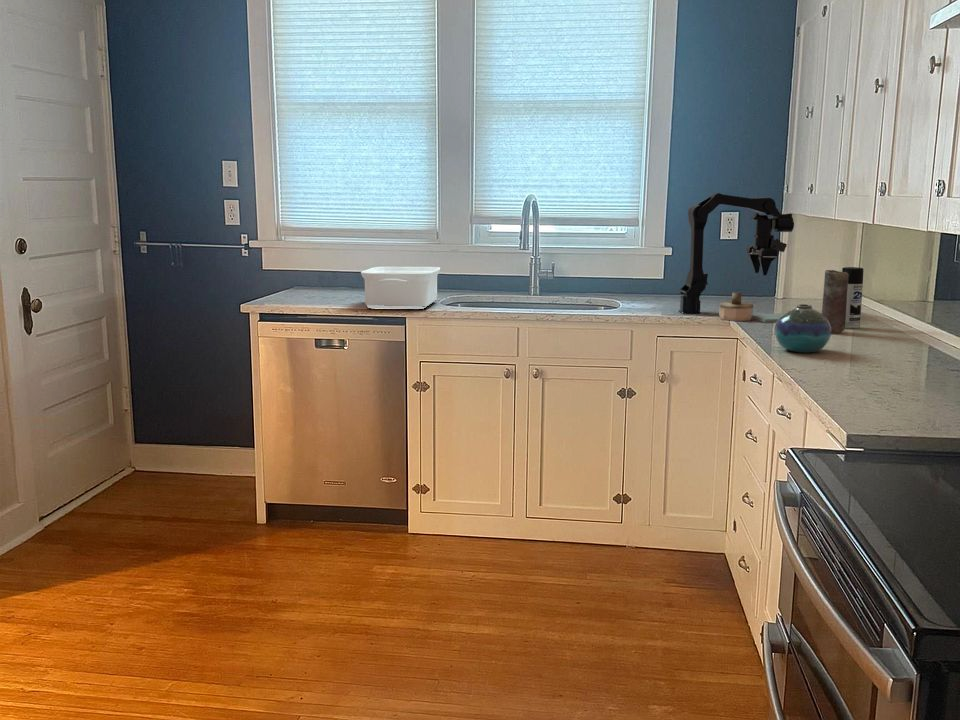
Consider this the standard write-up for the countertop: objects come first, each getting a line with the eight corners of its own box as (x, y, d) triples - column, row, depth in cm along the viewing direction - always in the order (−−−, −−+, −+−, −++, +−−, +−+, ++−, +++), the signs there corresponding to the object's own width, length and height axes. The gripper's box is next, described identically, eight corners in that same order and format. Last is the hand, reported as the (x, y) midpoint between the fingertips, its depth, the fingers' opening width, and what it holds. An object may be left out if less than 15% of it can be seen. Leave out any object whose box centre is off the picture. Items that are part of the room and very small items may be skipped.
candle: (826, 329, 293) (831, 269, 289) (848, 332, 287) (853, 270, 284) (816, 332, 287) (820, 270, 283) (838, 335, 282) (843, 272, 278)
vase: (841, 354, 251) (845, 307, 249) (794, 357, 247) (798, 309, 244) (807, 344, 266) (810, 300, 263) (762, 347, 261) (765, 303, 259)
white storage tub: (378, 300, 375) (377, 265, 372) (444, 301, 371) (444, 266, 368) (356, 311, 342) (354, 273, 339) (428, 312, 338) (428, 274, 335)
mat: (764, 322, 309) (764, 319, 309) (748, 316, 322) (749, 314, 321) (799, 321, 310) (800, 318, 310) (783, 316, 323) (783, 313, 323)
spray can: (850, 329, 292) (854, 269, 288) (833, 327, 298) (837, 267, 294) (864, 328, 295) (868, 268, 291) (847, 325, 301) (851, 266, 297)
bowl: (727, 321, 312) (727, 308, 311) (715, 316, 322) (716, 304, 321) (756, 320, 313) (756, 307, 312) (743, 316, 323) (744, 304, 322)
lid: (726, 308, 310) (727, 295, 309) (714, 304, 321) (715, 291, 321) (758, 308, 311) (759, 294, 311) (745, 303, 323) (745, 290, 322)
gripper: (794, 233, 319) (791, 276, 322) (776, 230, 338) (773, 271, 341) (763, 233, 319) (760, 276, 322) (747, 230, 338) (745, 271, 341)
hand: (760, 274), depth 331 cm, fingers open, 9 cm apart
